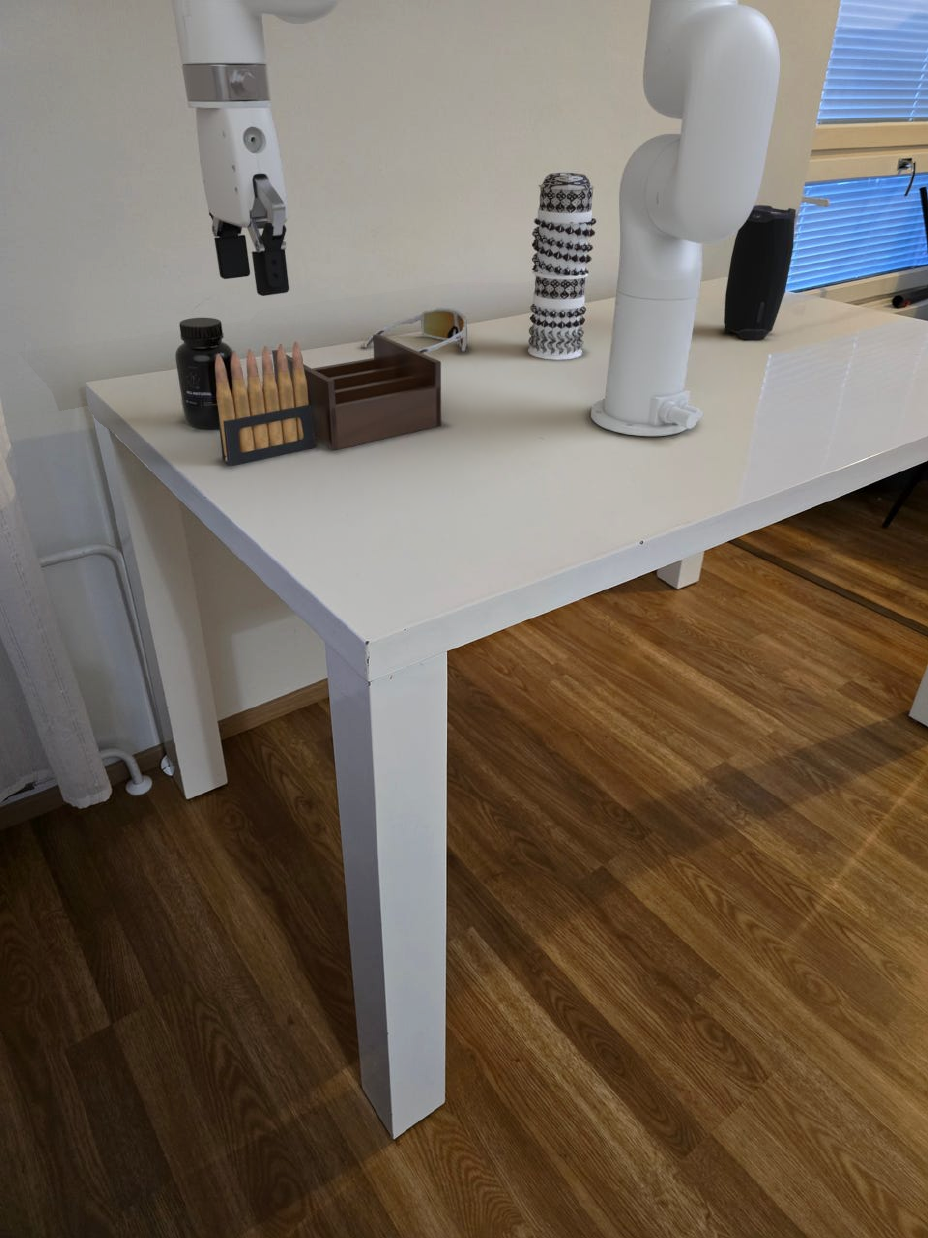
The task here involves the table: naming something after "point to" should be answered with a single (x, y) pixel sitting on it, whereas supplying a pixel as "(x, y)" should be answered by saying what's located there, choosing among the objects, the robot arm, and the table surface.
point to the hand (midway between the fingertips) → (253, 284)
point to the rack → (373, 395)
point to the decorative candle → (561, 266)
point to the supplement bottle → (201, 370)
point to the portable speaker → (759, 272)
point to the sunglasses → (436, 327)
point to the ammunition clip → (263, 408)
